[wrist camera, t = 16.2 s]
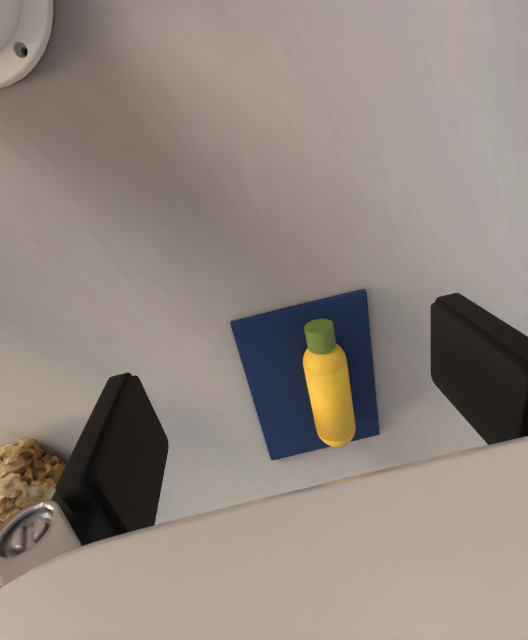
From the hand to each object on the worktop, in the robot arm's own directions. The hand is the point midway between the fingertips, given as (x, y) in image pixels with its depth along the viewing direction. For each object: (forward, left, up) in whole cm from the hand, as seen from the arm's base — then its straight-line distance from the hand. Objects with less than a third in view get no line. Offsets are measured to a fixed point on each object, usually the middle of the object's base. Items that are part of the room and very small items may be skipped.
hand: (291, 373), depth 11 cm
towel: (+3, -19, -23) cm, 30 cm away
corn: (+3, -18, -22) cm, 29 cm away
